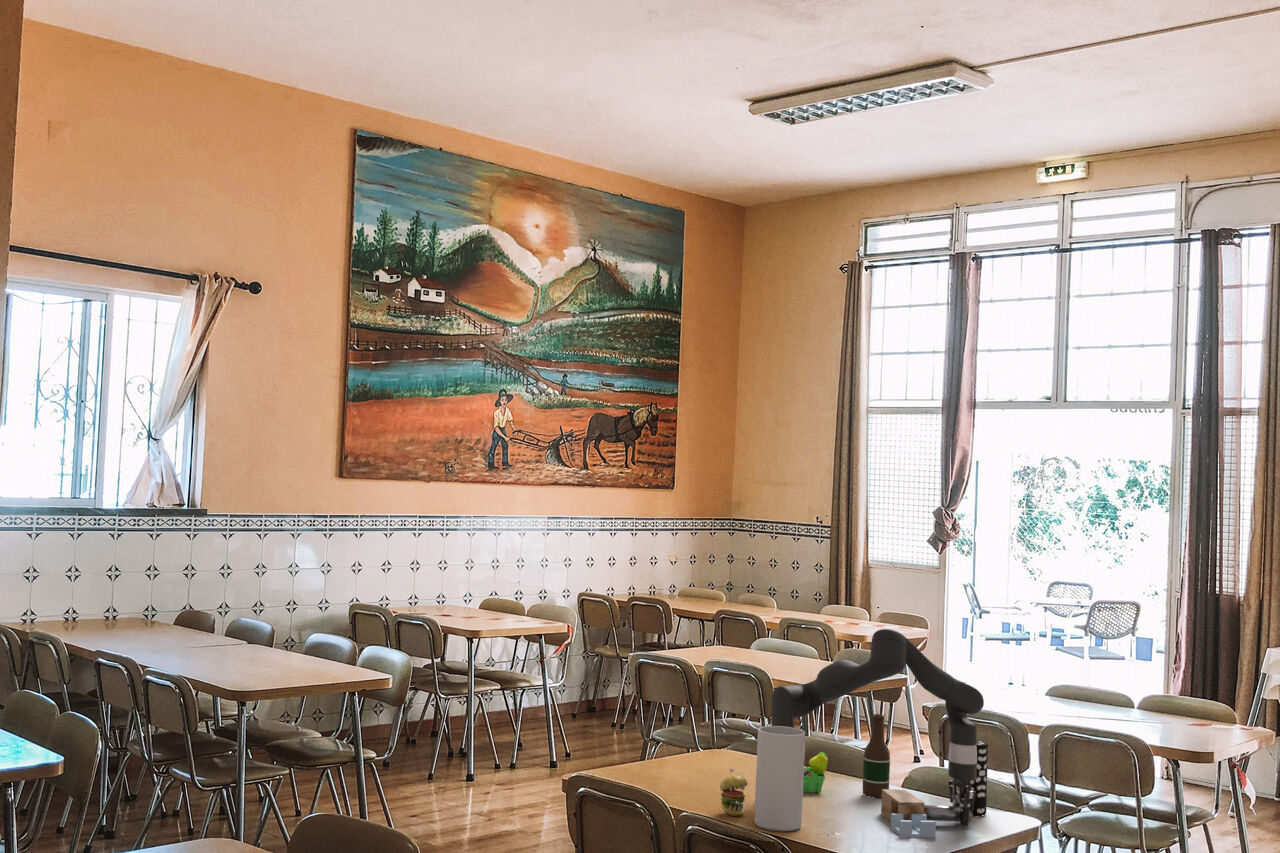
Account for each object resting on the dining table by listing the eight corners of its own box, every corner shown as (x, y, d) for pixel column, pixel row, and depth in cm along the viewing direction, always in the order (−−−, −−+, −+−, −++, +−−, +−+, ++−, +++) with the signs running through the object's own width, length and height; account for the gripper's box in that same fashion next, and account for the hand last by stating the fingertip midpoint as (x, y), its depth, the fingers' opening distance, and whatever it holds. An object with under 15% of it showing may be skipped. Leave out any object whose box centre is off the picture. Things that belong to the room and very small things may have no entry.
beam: (898, 827, 312) (899, 802, 312) (881, 813, 326) (881, 789, 326) (923, 828, 312) (924, 802, 313) (904, 814, 327) (905, 789, 327)
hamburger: (729, 818, 312) (731, 773, 313) (713, 812, 318) (715, 767, 319) (751, 816, 316) (753, 771, 317) (735, 809, 322) (737, 765, 323)
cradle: (900, 836, 303) (901, 821, 303) (890, 828, 310) (891, 813, 311) (935, 837, 304) (936, 822, 304) (924, 829, 312) (925, 814, 312)
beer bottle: (888, 799, 343) (891, 718, 345) (862, 797, 345) (865, 715, 346) (888, 794, 351) (891, 713, 352) (862, 791, 352) (865, 711, 354)
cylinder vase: (809, 831, 303) (812, 735, 305) (765, 833, 300) (769, 735, 302) (789, 819, 315) (793, 726, 317) (747, 820, 312) (751, 726, 314)
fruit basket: (795, 784, 357) (797, 747, 358) (824, 786, 357) (825, 749, 358) (799, 793, 346) (801, 754, 347) (829, 795, 346) (830, 756, 346)
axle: (921, 823, 314) (923, 809, 314) (916, 815, 318) (918, 802, 318) (971, 824, 316) (972, 810, 315) (965, 817, 320) (967, 803, 319)
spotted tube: (986, 811, 335) (988, 741, 337) (985, 818, 327) (987, 746, 329) (957, 807, 338) (959, 738, 339) (955, 814, 330) (957, 743, 332)
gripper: (986, 766, 312) (984, 830, 311) (965, 754, 326) (963, 816, 325) (959, 765, 311) (957, 830, 310) (940, 754, 325) (938, 816, 324)
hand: (960, 823), depth 317 cm, fingers closed on axle, 4 cm apart
